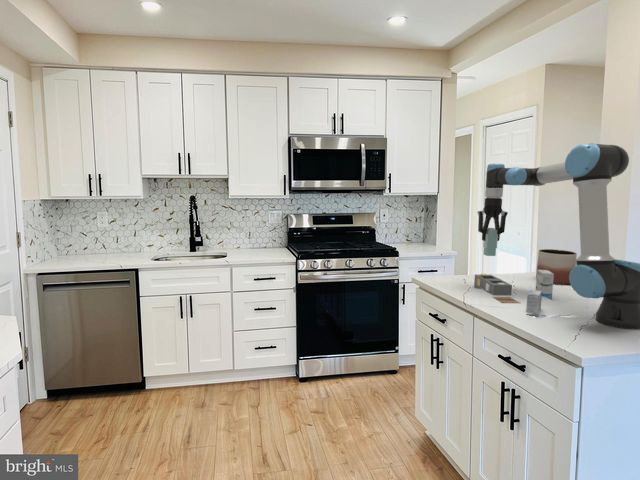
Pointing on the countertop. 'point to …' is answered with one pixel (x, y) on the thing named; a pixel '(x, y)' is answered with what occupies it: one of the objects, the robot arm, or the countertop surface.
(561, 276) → the planter
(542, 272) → the ink box
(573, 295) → the countertop surface
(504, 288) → the socket strip
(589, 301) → the countertop surface
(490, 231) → the plug
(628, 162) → the robot arm
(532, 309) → the medicine box
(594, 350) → the countertop surface
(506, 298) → the brown flat block
